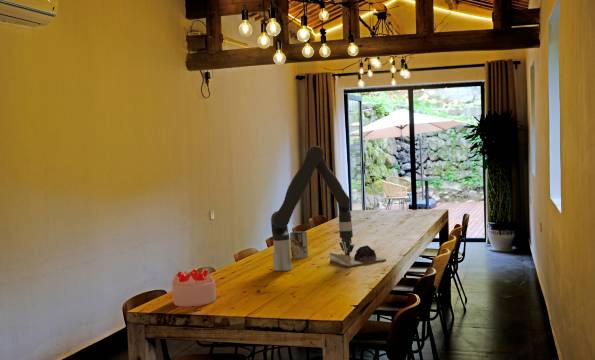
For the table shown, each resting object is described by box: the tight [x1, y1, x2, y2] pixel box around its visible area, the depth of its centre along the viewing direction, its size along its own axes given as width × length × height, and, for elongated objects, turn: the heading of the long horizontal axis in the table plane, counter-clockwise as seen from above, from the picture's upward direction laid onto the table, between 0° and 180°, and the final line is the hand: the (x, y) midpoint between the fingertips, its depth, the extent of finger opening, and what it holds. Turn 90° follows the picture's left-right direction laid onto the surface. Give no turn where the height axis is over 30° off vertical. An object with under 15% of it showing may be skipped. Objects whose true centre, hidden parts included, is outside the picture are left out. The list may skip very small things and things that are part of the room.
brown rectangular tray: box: [329, 251, 387, 268], centre depth 352 cm, size 26×20×6 cm
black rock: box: [353, 245, 377, 261], centre depth 354 cm, size 13×14×10 cm
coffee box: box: [289, 231, 309, 259], centre depth 381 cm, size 9×6×16 cm
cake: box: [171, 268, 217, 308], centre depth 282 cm, size 20×20×14 cm
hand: (347, 259), depth 349 cm, fingers closed
